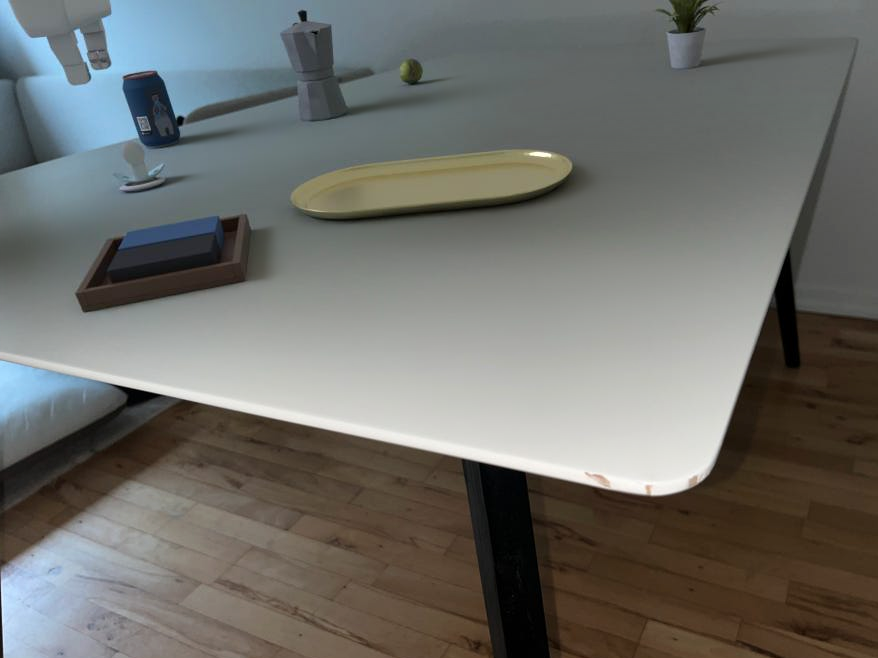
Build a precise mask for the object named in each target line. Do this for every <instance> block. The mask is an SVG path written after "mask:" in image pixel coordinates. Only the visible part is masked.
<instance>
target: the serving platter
mask: <svg viewBox="0 0 878 658" xmlns="http://www.w3.org/2000/svg"><path fill="white" fill-rule="evenodd" d="M573 169H574V168H573V163H572V161H571V160H570V159H569V158H568V157H567V156H565V155H562V154H559V153H556V152H553V151H549V150H548V151H547V150H541V149H540V150H539V149H520V148H519V149H501V150H500V149H499V150H491V151H482V152H481V151H480V152H471V153H470V152H469V153H462V154H452V155H441V156H432V157H431V156H430V157H422V158H413V159H403V160H393V161H383V162H374V163H366V164H360V165H355V166H349V167H345V168H341V169H337V170H334V171H330V172H326V173H324V174H321V175H319V176H316V177H313V178H312V179H309V180H308V181H305V182H303V183H302V184H301V185H299V186H298V187H296V188H295V189H294V190H293V191H292V192H291V195H290V199H289V200H290V203H291V205H292V206H293V207H294V208H295V209H296V210H298V211H300V212H301V213H302V214H305V215H308V216H310V217H314V218H319V219H325V220H357V219H367V218H377V217H386V216H387V217H388V216H397V215H408V214H420V213H426V212H427V213H430V212H439V211H451V210H462V209H472V208H481V207H482V208H483V207H492V206H502V205H508V204H509V205H510V204H513V203H520V202H523V201H527V200H531V199H534V198H537V197H541V196H542V195H545V194H547V193H550V192H551V191H553V190H555V189H557V188H559V187H560V186H562V184H563V183H564V182H566V180H567V179H568V178H569V177H570V175H571V173H572V171H573Z"/></svg>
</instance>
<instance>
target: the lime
mask: <svg viewBox="0 0 878 658" xmlns="http://www.w3.org/2000/svg"><path fill="white" fill-rule="evenodd" d="M423 71H424V69H423V65H422V64H421V62H420V61H419V60H417V59H415V58H408V59H406V60H404V61H403V62H402V63H401V65H400V66H399V68H398V76H399V78H400V80H401V81H402V82H403V83H405V84H409V85H414V84H417V83H418V82H419V81H420V80H421V79H422V77H423V73H424V72H423Z"/></svg>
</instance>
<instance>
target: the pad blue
mask: <svg viewBox="0 0 878 658" xmlns="http://www.w3.org/2000/svg"><path fill="white" fill-rule="evenodd" d="M209 234H215V235H216V239H217V242H218V245H219V248H220V251H221V252H222V247H223V242H224V237H225V234H224V231H223V228H222V225H221V221H220V216H219V215H211V216H207V217H202V218H196V219H191V220H185V221H179V222H175V223H169V224H163V225H158V226H157V225H156V226H152V227H146V228H141V229H135V230H130V231H127V232H126V233H125V235H124V236H125V237H124V239H123V241H122V243H121V245H120V247H119V248H118V250H119V251H122V250H127V249H133V248H138V247H143V246H149V245H154V244H160V243H165V242H171V241H176V240H182V239H187V238H192V237H198V236H203V235H209Z"/></svg>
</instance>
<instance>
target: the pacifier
mask: <svg viewBox="0 0 878 658" xmlns="http://www.w3.org/2000/svg"><path fill="white" fill-rule="evenodd" d="M121 156H122V158H123V160H124V161H125V162H126V163H127V164H128V167H129V169H130V171H131V173H121V172H114V173H112V177H113V178H114V179H115V180H117V181H120V182H123V183H124V184H122V185H121V186H119V188H118V189H119V190H120V191H122V192H134V191H140V190H146V189H150V188H153V187H156V186H159V185H161V184H163V183H164V182H165V181H166V178H164V177H162V176H158V175H159V174H161V172H162V171H163V170H164V168H165V166H166V164H165V163H161V164H159V165H158V166H156V167H155V168H153V169H150V171H148V169H147V165H146V162H145V161H144V160H145V157H146V155H145V151H144V149H143V147H142V145H140V144H139V143H138V142H135V141H128V142H126V143H124V144H123V146H122V148H121Z"/></svg>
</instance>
